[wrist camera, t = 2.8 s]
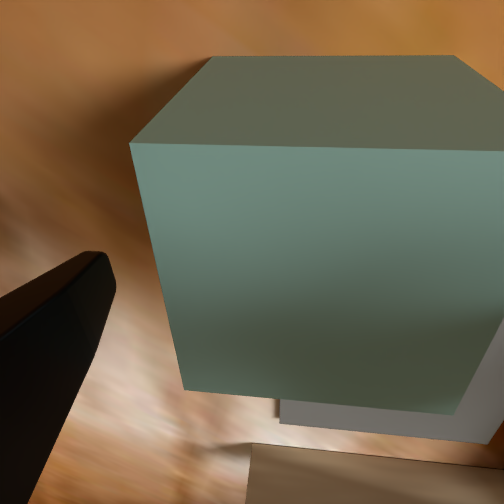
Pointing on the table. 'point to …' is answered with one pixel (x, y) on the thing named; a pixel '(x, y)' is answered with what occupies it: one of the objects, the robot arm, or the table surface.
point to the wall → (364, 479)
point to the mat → (416, 423)
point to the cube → (329, 227)
